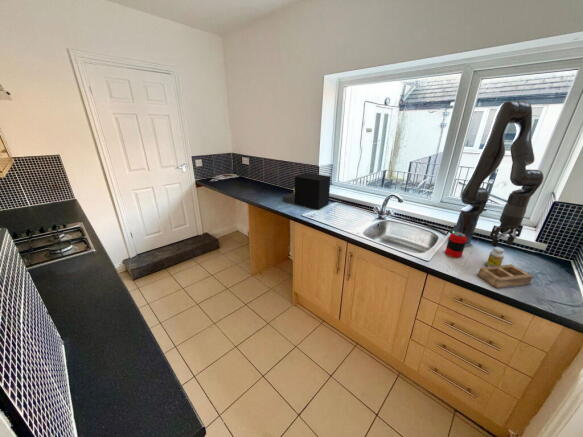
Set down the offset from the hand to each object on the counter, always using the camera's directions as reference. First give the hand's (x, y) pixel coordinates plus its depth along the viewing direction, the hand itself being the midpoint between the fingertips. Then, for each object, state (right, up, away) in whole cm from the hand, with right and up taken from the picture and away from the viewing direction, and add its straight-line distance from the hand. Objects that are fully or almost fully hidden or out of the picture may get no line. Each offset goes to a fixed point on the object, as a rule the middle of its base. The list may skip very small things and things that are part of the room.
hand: (501, 245), depth 116 cm
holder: (-4, -15, -5) cm, 16 cm away
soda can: (-13, -7, +15) cm, 21 cm away
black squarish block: (-88, +26, +91) cm, 129 cm away
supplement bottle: (0, -11, +5) cm, 12 cm away
